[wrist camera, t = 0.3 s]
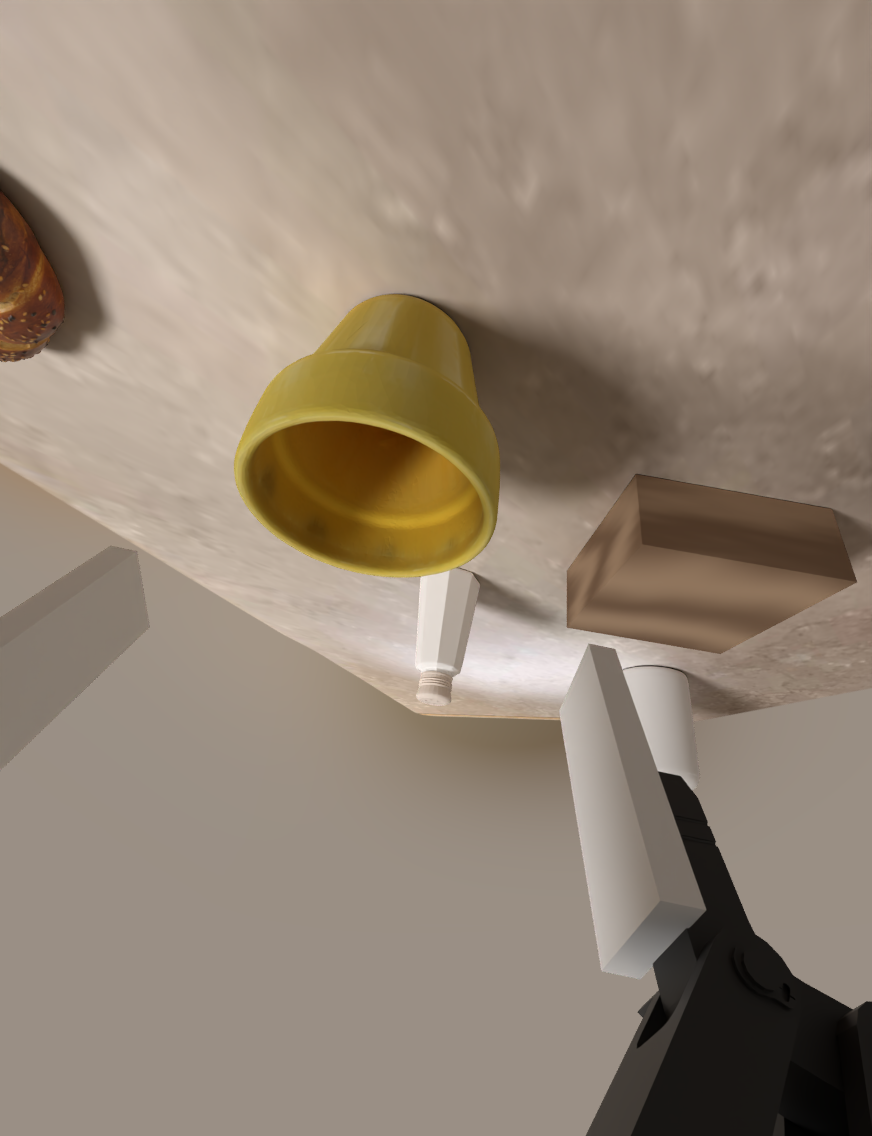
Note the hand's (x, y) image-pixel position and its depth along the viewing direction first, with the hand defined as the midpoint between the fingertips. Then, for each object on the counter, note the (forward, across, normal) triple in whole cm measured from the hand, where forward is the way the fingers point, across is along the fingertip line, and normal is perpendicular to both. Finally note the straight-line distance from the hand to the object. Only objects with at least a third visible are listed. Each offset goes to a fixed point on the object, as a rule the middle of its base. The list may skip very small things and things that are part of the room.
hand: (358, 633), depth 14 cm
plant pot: (+15, -2, +6) cm, 16 cm away
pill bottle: (+34, +29, -26) cm, 52 cm away
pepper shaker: (+26, +3, -13) cm, 29 cm away
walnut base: (+21, +18, -3) cm, 28 cm away
